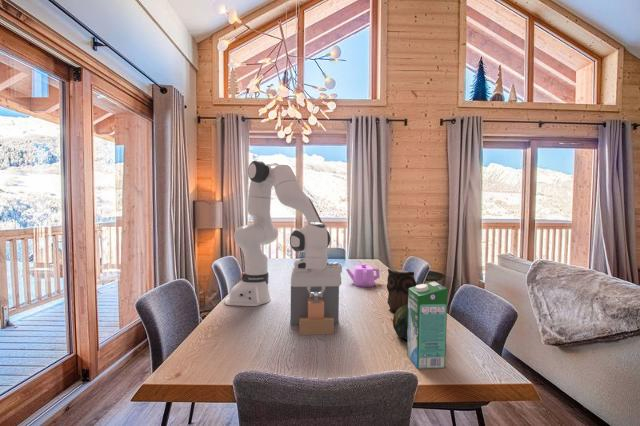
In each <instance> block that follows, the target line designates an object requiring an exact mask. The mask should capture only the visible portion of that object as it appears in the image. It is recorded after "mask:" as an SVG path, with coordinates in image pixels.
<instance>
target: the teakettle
mask: <svg viewBox="0 0 640 426" xmlns="http://www.w3.org/2000/svg"><path fill="white" fill-rule="evenodd" d="M345 271H346V272H347V273H348V276H349V277H350V278H351V280H352V283H353V285H354V287H363V288H364V287H366V288H367V287H372V286H373V287H374V285H375V280H377V279H380V277H381V276H380V268H377V267H372V266H371V265H367V264H366V263H361V264H360V265H359V264H358V265H354V268H353V273H352V271H351V270H350V269H349V268H346V269H345ZM374 272H375V274H374Z"/></svg>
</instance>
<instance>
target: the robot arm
mask: <svg viewBox="0 0 640 426" xmlns="http://www.w3.org/2000/svg"><path fill="white" fill-rule="evenodd" d="M247 175H248V177H249V180H250V183H249V189H248V196H247V197H248V199H247V209H246V210H247V213H248V214H249V215H250V216H251V217H252V219H253V223H252V224H244V225H241V226H238V227H237V228H236V229H235V231H234V232H233V240H234V242H235V244H236V245H237V246H238V247H239V248H240V249H241V251H242V253H243V255H244V260H245V261H244V262H245V267H244V268H245V269H244V270H245V271H243V272H241V275H240V276H241V277H240V278H241V280H240V281H239V282H238V283H236V284H235V285H234V286H232V288H231V289H230V292H229V296H228V295H227V297H226V298H225V300H224V304H225V306H235V307H236V306H243V307H257V306H259V305H260V306H261V305H264V304H267V303H269V302H270V301H271V295H270V290H269V282H270V280H269V279H270V278H269V276H270V275H269V271H268V265H269V263H268V256H267V255H266V254H264V253H263V250H262V246H263V245H264V246H265V245H268V244H271V243H273V242H275V241H276V240H277V238H278V235H279V231H278V228H277V227H276V226H275V224H274V223H273V221H272V217H271V202H272V200H271V198H272V188H274V191H275V196H276V197H277V199H278V201H279V203H281V204H282V205H284V206H286V207H288V208H292V209H295V210H296V211H299V212H300V213H302V214H303V216H304V217H305V220H306V221H307V223H306V225H305V226H303V227H301V228H297V229H295V230H293V231H292V232H291V234H290V235H289V236H290V237H289V245H290V248H291V249H292V250H293V251H294V252H296V253H297V252H298V253H305V256H304V257H303V258H300V259H297V260H295V261H294V262H293V265H294V267H293V268H292V271H291V277H290V286H291V285H292V287H307V290H308V291H309V293H310V298H313V297H314V296H313V295H314V293H313V292H311V291H310V289H311V287H321V288H322V290H321V291H320V292H318V297H322V293H323V292H324V290H325V286H339V287H340V286H341V285H342V275H341V274H342V272H343V267H342V264H340V263H339V262H328V252H327V250H328V247H329V246H330V244H331V234H330V232H329V230H328V229H327V226H326V224H325V223H323V221H322V220H321V217H320V215H319V213H318V211H317V209H316V207H315V205H314V203H313V202H312V199H311V198H310V197H309V196H308V195H307V194H306V193H305V192H304V191H303V189H302V186H300V183H299V180H298V177H297V175H296V172H295V171H294V169H293V167H292V166H291V164H288V163H285V162H280V161H276V160H262V159H256V160H253V161H251V162H250V163H249V165H248V169H247Z"/></svg>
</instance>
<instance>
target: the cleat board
mask: <svg viewBox="0 0 640 426" xmlns="http://www.w3.org/2000/svg"><path fill="white" fill-rule="evenodd" d="M321 290H322V288H321V287H311V289H310V291H311V292H317V293H318V292H320V291H321ZM318 298H322V299H323V302H324V318H321V319H308V299H310V293H309V291H308V290H307V287H292V285H291V284H290V316H289V317H290V319H289V320H290V325H298V328H299V335H303V336H304V335H330V334H332V335H333V334H335V333H334V332H335V331H334V330H335V327H334V326H335V324H339V321H340V319H339V317H340V315H339V314H340V313H339V312H340V311H339V308H340V303H339V302H340V286H325V290H324V292H323V293H322V297H318Z"/></svg>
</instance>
